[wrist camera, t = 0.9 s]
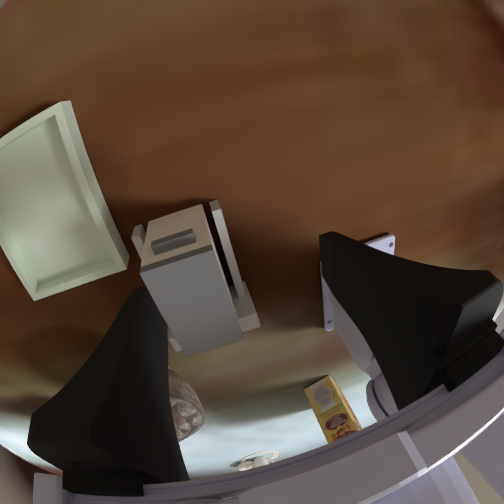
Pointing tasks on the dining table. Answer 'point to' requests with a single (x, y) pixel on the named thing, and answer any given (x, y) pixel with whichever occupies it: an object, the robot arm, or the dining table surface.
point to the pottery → (184, 406)
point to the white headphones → (256, 461)
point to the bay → (239, 289)
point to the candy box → (332, 410)
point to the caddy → (189, 281)
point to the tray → (54, 207)
